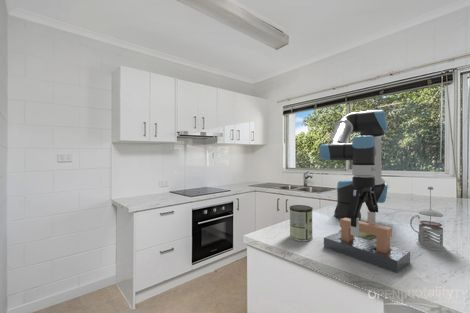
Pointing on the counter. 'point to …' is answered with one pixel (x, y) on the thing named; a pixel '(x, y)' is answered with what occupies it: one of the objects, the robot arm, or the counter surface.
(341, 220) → the staple
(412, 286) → the counter surface
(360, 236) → the washcloth
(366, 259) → the grey slotted base block
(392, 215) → the counter surface
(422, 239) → the french press
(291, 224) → the coffee can
